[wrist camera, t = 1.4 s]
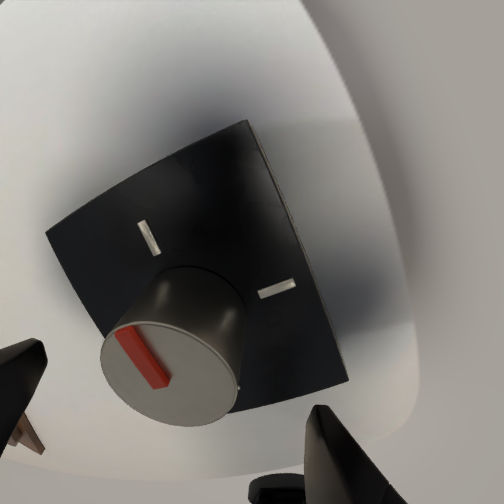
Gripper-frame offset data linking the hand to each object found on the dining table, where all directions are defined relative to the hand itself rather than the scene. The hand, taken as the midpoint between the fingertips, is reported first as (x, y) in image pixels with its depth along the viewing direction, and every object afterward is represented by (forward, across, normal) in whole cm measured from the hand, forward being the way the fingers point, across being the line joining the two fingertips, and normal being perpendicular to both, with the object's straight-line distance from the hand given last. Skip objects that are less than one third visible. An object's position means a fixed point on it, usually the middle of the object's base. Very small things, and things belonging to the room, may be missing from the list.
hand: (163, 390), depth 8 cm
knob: (+4, 0, 0) cm, 4 cm away
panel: (+7, 0, 0) cm, 7 cm away
